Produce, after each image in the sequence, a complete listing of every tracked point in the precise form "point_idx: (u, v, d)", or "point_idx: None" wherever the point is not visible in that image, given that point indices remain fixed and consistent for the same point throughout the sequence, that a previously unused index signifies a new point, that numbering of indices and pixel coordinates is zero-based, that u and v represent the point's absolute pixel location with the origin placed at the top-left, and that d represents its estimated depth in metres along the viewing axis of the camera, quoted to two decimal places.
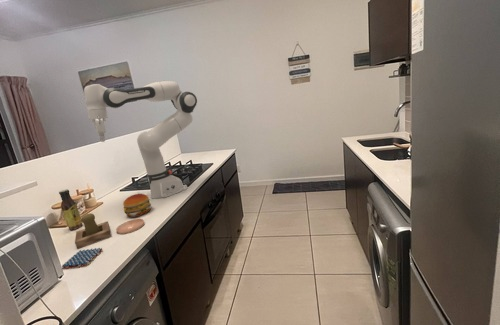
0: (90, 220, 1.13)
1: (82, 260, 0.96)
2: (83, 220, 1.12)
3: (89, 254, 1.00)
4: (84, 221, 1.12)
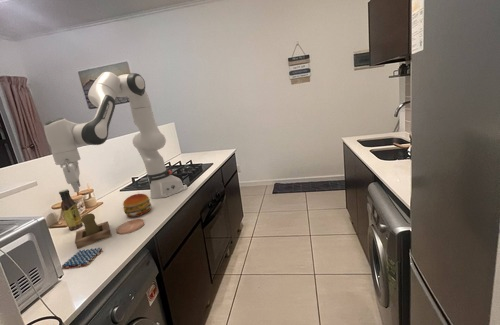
0: (90, 220, 1.13)
1: (82, 260, 0.96)
2: (83, 220, 1.12)
3: (89, 254, 1.00)
4: (84, 221, 1.12)
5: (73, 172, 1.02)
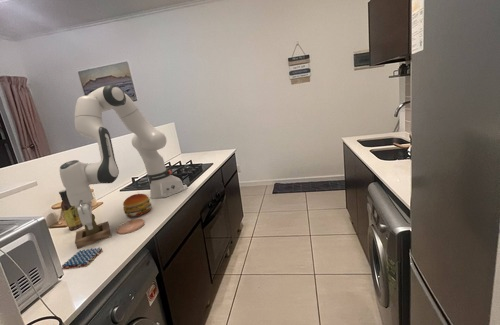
0: None
1: (82, 260, 0.96)
2: None
3: (89, 254, 1.00)
4: None
5: (88, 214, 1.06)
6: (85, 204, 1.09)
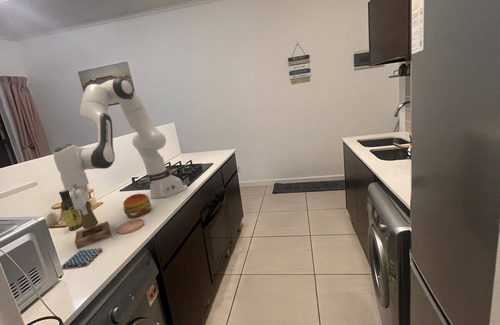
0: None
1: (82, 260, 0.96)
2: None
3: (89, 254, 1.00)
4: None
5: (80, 198, 1.04)
6: (79, 188, 1.07)
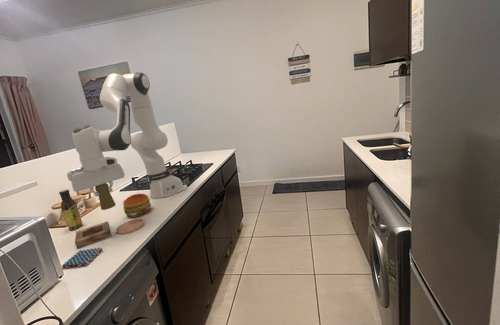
0: (96, 190, 1.13)
1: (82, 260, 0.96)
2: None
3: (89, 254, 1.00)
4: None
5: (72, 183, 1.06)
6: (80, 172, 1.08)
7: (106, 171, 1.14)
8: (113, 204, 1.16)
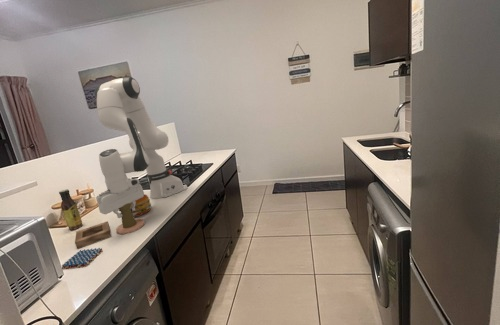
0: (120, 210, 1.16)
1: (82, 260, 0.96)
2: None
3: (89, 254, 1.00)
4: None
5: (101, 205, 1.08)
6: (108, 194, 1.11)
7: (129, 192, 1.19)
8: (135, 222, 1.21)
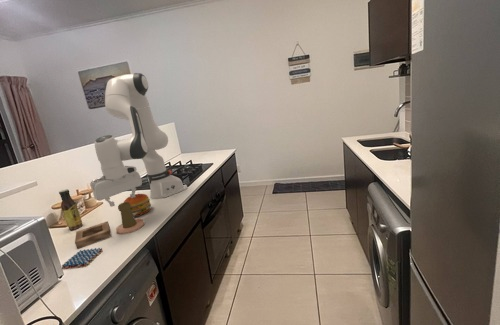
0: (120, 210, 1.16)
1: (82, 260, 0.96)
2: None
3: (89, 254, 1.00)
4: None
5: (95, 192, 1.08)
6: (102, 181, 1.10)
7: (126, 179, 1.17)
8: (135, 222, 1.21)
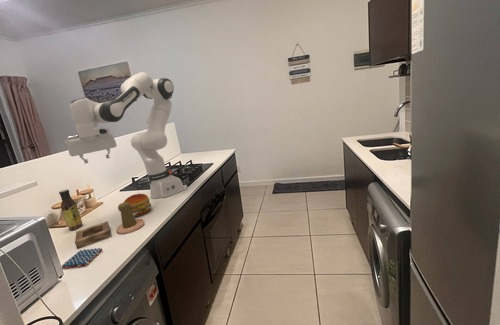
0: (120, 210, 1.16)
1: (82, 260, 0.96)
2: None
3: (89, 254, 0.99)
4: None
5: (68, 148, 1.20)
6: (75, 139, 1.21)
7: (99, 140, 1.26)
8: (135, 222, 1.21)
